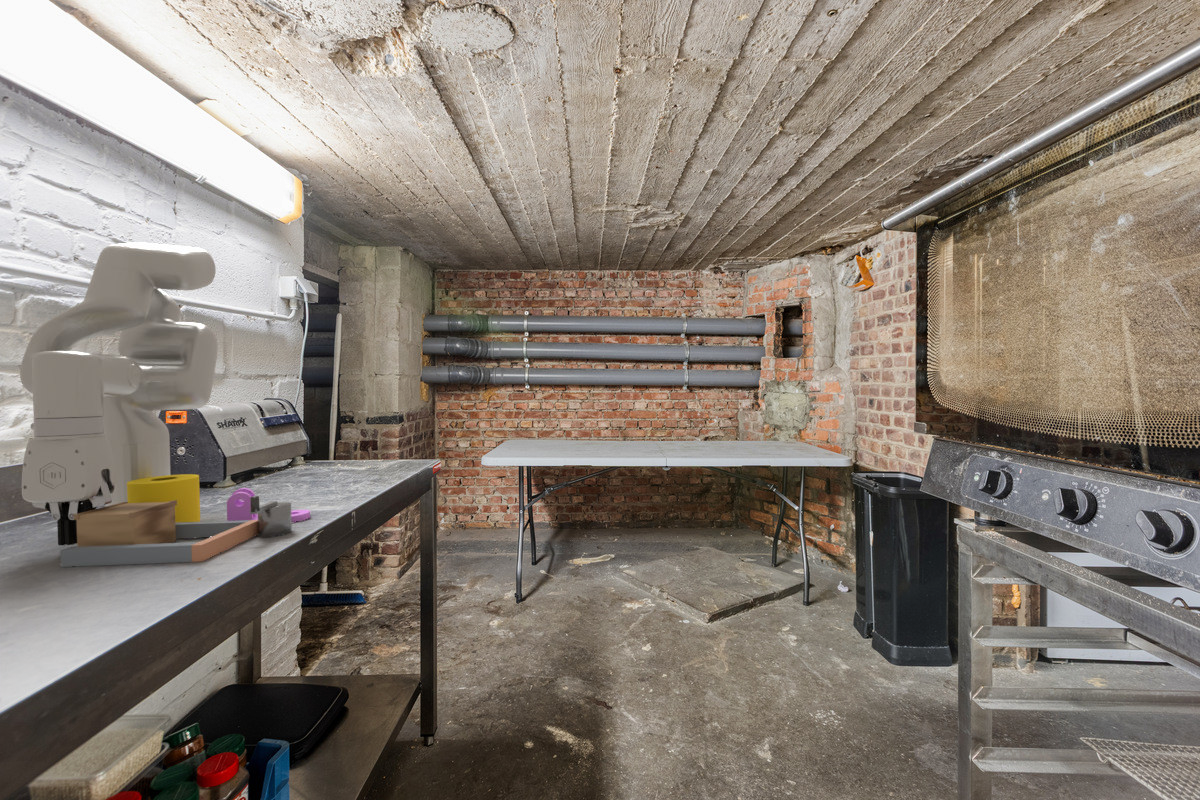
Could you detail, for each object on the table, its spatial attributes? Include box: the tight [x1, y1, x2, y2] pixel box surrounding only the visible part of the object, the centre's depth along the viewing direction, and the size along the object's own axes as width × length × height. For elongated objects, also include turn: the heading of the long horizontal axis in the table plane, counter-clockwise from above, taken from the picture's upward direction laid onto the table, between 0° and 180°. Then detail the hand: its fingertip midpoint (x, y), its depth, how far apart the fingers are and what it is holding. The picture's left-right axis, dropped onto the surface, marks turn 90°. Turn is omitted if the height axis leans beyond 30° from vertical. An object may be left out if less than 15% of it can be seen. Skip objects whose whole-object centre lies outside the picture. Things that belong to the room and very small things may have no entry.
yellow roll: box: [127, 473, 201, 523], centre depth 89 cm, size 10×10×9 cm
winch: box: [250, 495, 293, 538], centre depth 83 cm, size 9×5×8 cm, turn 5°
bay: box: [59, 520, 258, 568], centre depth 77 cm, size 14×20×2 cm
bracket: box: [226, 487, 311, 523], centre depth 93 cm, size 13×6×7 cm, turn 121°
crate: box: [74, 500, 177, 547], centre depth 77 cm, size 8×8×7 cm
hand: (73, 542), depth 76 cm, fingers closed
